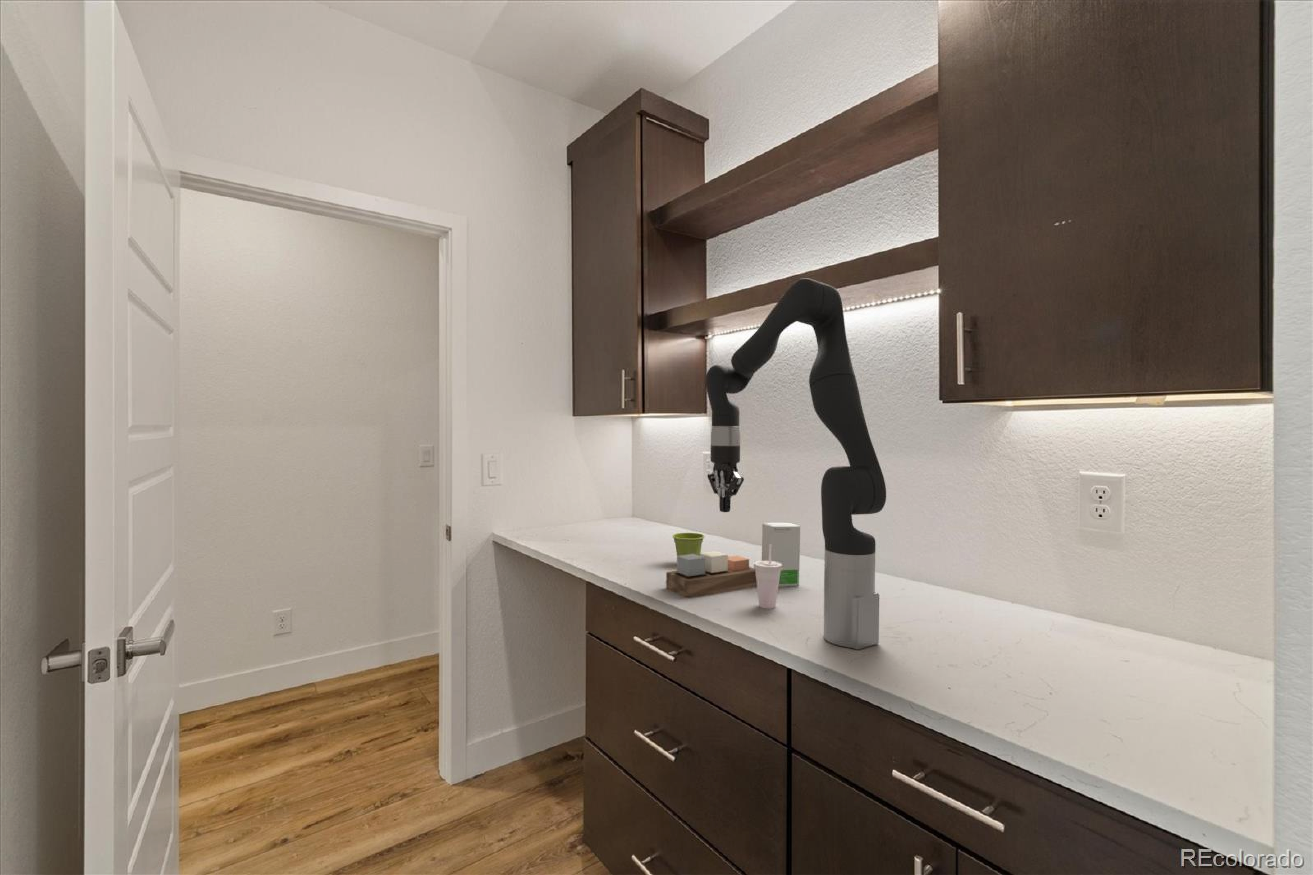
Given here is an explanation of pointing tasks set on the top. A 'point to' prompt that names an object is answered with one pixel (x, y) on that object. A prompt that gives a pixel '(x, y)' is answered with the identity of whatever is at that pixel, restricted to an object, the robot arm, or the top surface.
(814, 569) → the top surface
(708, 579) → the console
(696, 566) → the key slate
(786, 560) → the skincare box
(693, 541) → the plant pot
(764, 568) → the smoothie
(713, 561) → the key cream
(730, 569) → the key rust
